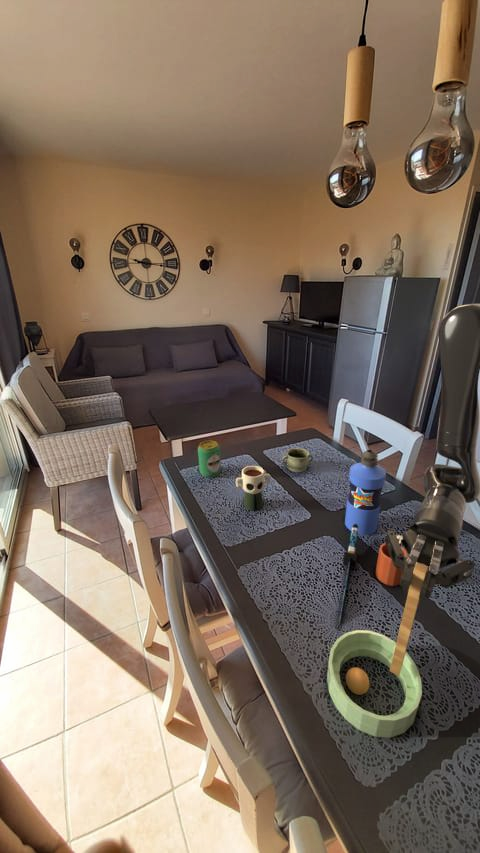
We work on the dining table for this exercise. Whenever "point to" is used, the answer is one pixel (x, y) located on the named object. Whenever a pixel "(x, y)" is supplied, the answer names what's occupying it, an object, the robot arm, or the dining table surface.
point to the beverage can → (209, 459)
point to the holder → (388, 567)
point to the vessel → (297, 459)
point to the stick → (408, 618)
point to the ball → (357, 681)
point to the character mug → (253, 486)
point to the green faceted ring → (383, 651)
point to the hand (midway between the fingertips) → (414, 591)
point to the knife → (350, 557)
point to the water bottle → (365, 494)
